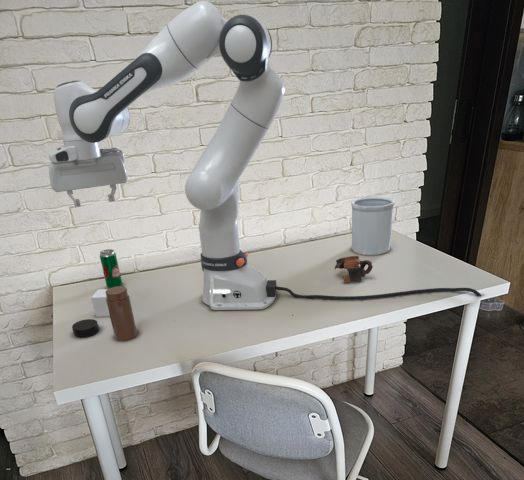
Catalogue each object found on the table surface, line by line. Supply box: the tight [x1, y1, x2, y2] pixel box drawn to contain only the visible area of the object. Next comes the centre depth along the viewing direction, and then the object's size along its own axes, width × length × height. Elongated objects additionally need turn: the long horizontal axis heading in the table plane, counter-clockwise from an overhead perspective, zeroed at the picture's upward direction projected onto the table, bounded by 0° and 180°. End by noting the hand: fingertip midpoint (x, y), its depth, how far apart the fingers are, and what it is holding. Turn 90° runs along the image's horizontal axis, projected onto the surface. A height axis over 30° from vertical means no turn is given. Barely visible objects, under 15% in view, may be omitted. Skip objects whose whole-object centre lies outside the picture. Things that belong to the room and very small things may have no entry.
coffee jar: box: [105, 285, 138, 342], centre depth 123 cm, size 6×6×13 cm
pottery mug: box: [333, 255, 374, 284], centre depth 152 cm, size 12×10×8 cm
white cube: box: [91, 288, 110, 318], centre depth 139 cm, size 6×6×6 cm
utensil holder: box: [350, 195, 396, 256], centre depth 172 cm, size 15×15×18 cm
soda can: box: [99, 248, 123, 289], centre depth 155 cm, size 5×5×12 cm
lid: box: [71, 318, 100, 339], centre depth 129 cm, size 7×7×2 cm
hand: (95, 203), depth 134 cm, fingers open, 8 cm apart
